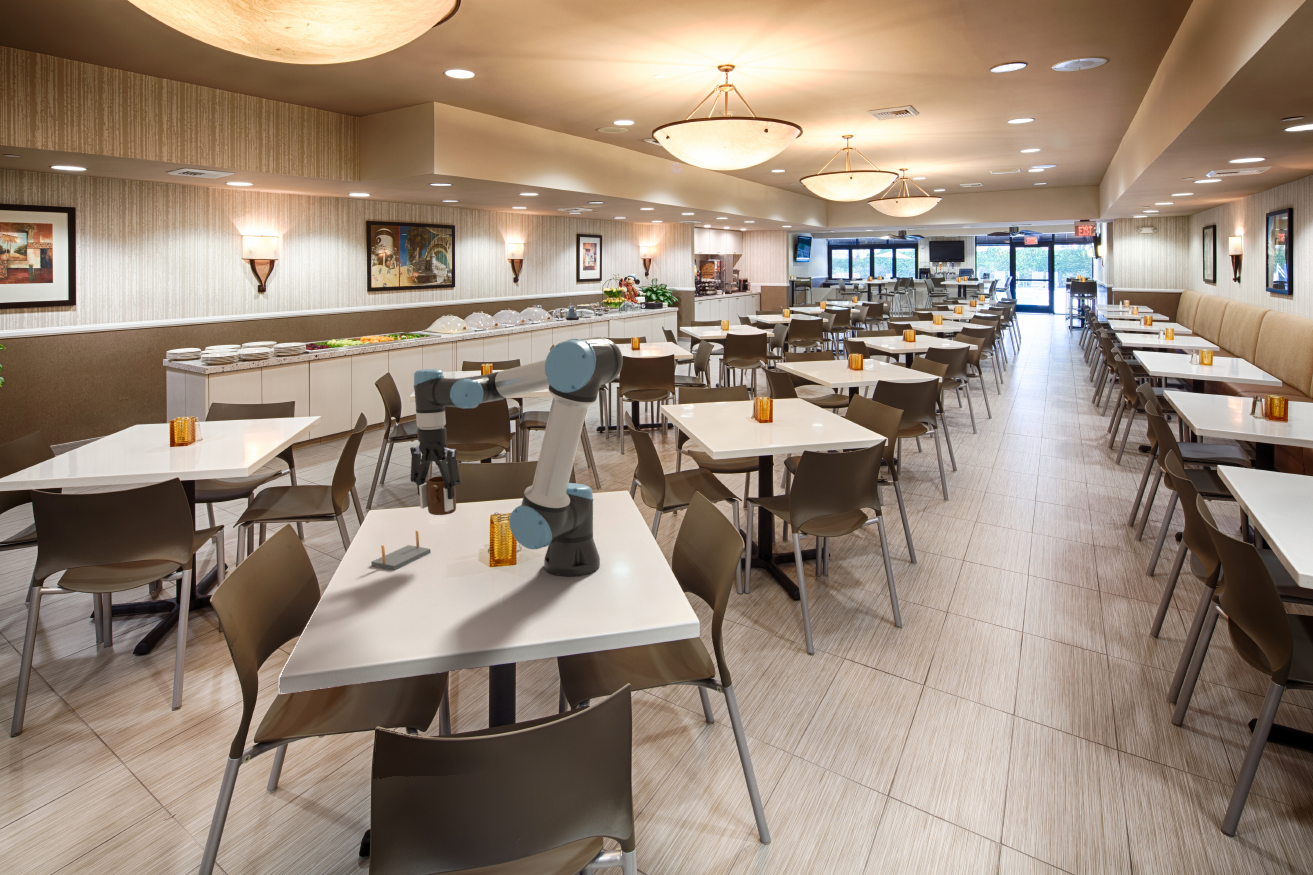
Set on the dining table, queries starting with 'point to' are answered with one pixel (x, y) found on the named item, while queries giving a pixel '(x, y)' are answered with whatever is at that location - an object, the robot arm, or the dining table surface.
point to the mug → (437, 496)
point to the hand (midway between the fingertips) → (437, 508)
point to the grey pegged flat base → (401, 556)
